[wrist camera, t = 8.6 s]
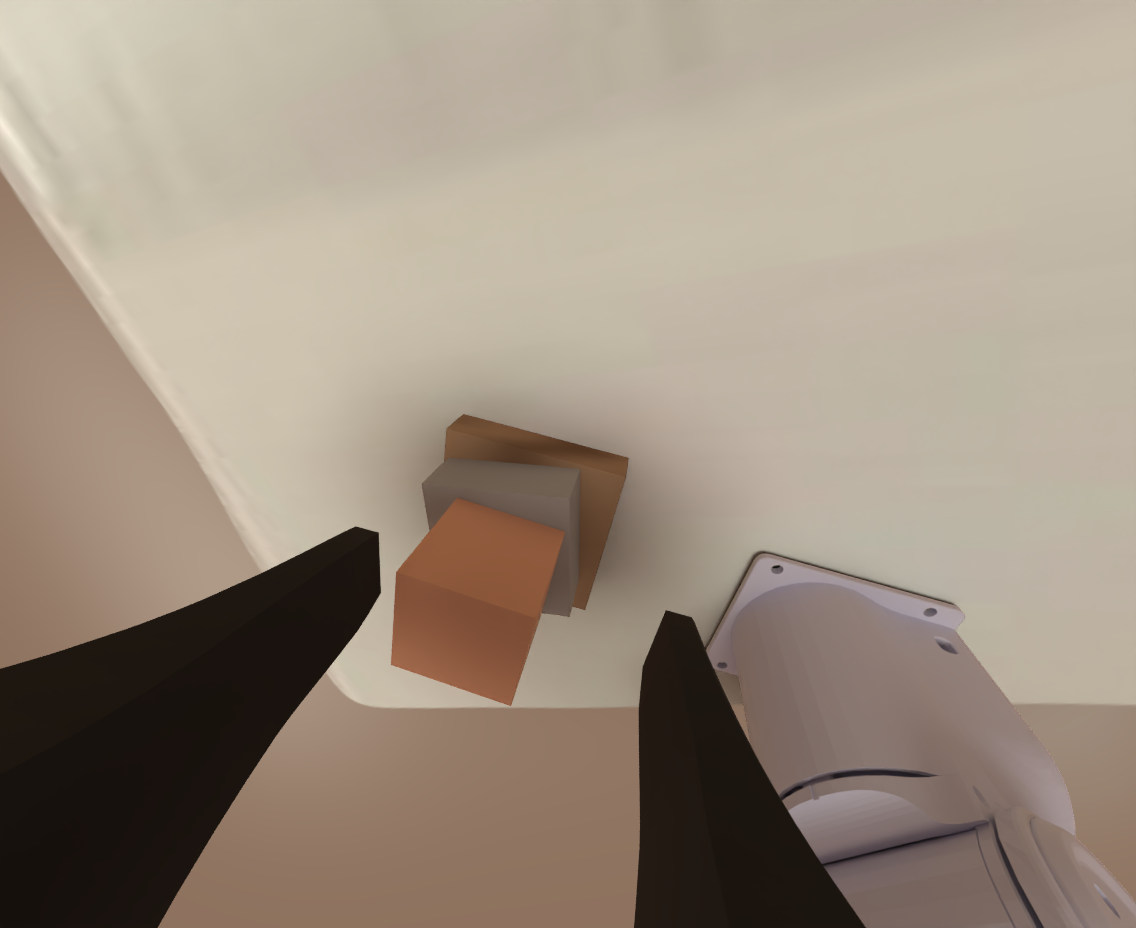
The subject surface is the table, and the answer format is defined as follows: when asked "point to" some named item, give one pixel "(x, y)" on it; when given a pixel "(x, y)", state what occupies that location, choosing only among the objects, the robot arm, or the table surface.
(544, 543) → the terracotta cube
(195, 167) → the table surface
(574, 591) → the grey slab
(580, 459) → the walnut slab
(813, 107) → the table surface
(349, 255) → the table surface
